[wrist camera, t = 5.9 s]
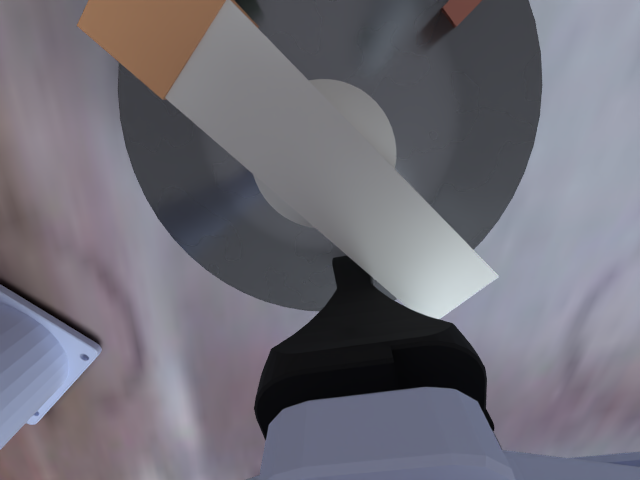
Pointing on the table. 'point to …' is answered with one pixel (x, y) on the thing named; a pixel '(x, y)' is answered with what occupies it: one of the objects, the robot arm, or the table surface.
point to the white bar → (295, 141)
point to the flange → (398, 105)
